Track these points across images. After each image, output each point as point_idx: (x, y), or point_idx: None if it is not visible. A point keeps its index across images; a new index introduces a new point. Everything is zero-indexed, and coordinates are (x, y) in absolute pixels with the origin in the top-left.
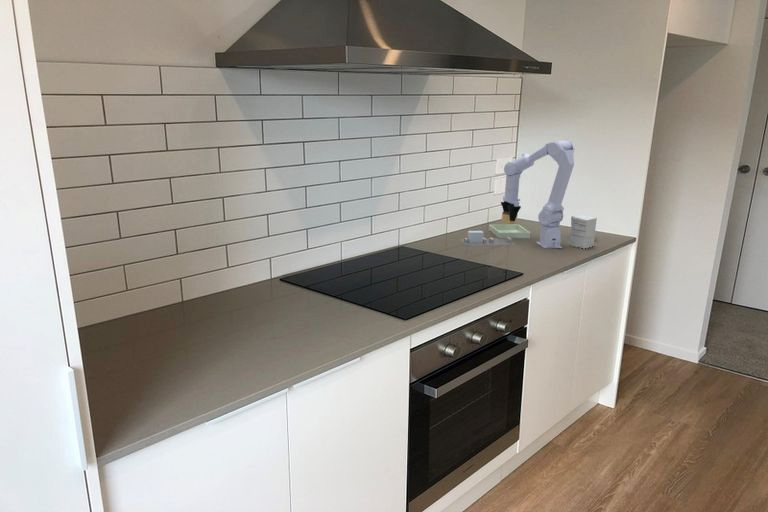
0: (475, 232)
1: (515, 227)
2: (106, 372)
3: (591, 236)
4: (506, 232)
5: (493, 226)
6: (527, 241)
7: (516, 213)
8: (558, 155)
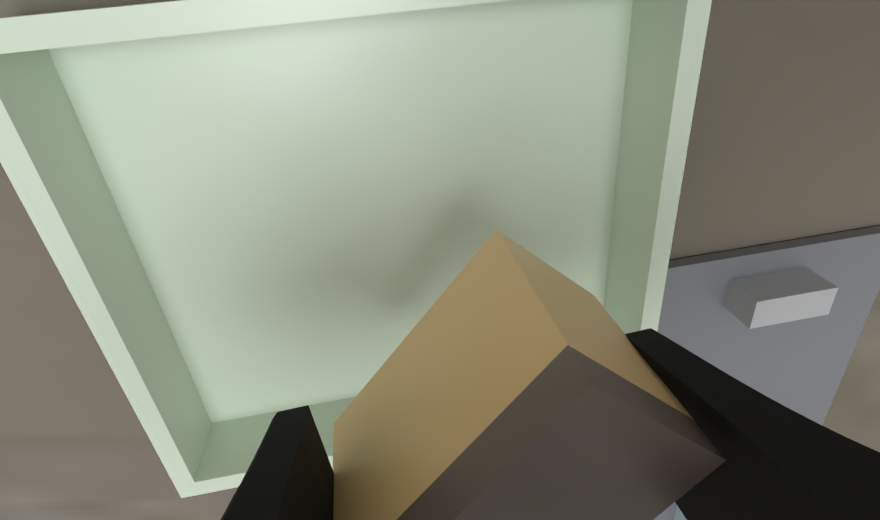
0: None
1: (38, 97)
2: None
3: None
4: None
5: (187, 438)
6: (757, 38)
7: (837, 460)
8: None
